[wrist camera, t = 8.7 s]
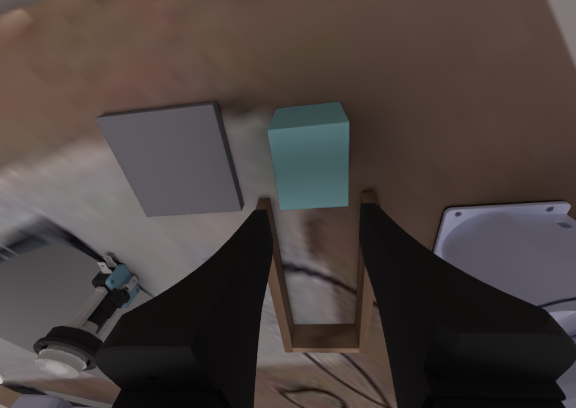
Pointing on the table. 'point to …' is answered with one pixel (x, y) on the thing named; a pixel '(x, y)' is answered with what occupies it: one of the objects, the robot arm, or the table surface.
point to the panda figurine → (1, 378)
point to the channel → (320, 335)
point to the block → (310, 155)
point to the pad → (175, 158)
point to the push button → (87, 324)
